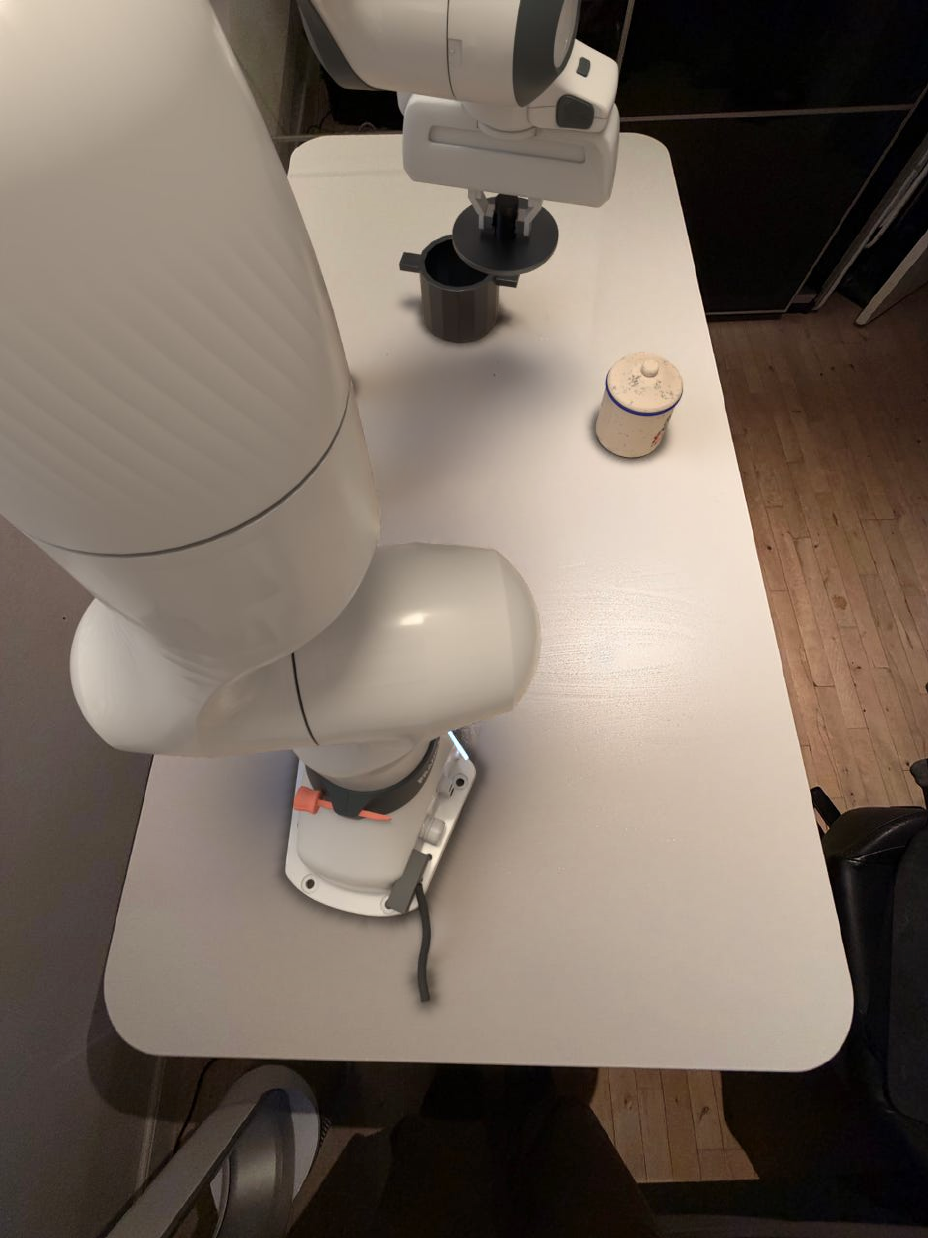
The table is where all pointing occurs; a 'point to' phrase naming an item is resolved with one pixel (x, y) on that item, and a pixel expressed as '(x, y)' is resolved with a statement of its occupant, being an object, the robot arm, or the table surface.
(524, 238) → the lid
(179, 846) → the table surface
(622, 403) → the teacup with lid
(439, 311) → the pot
